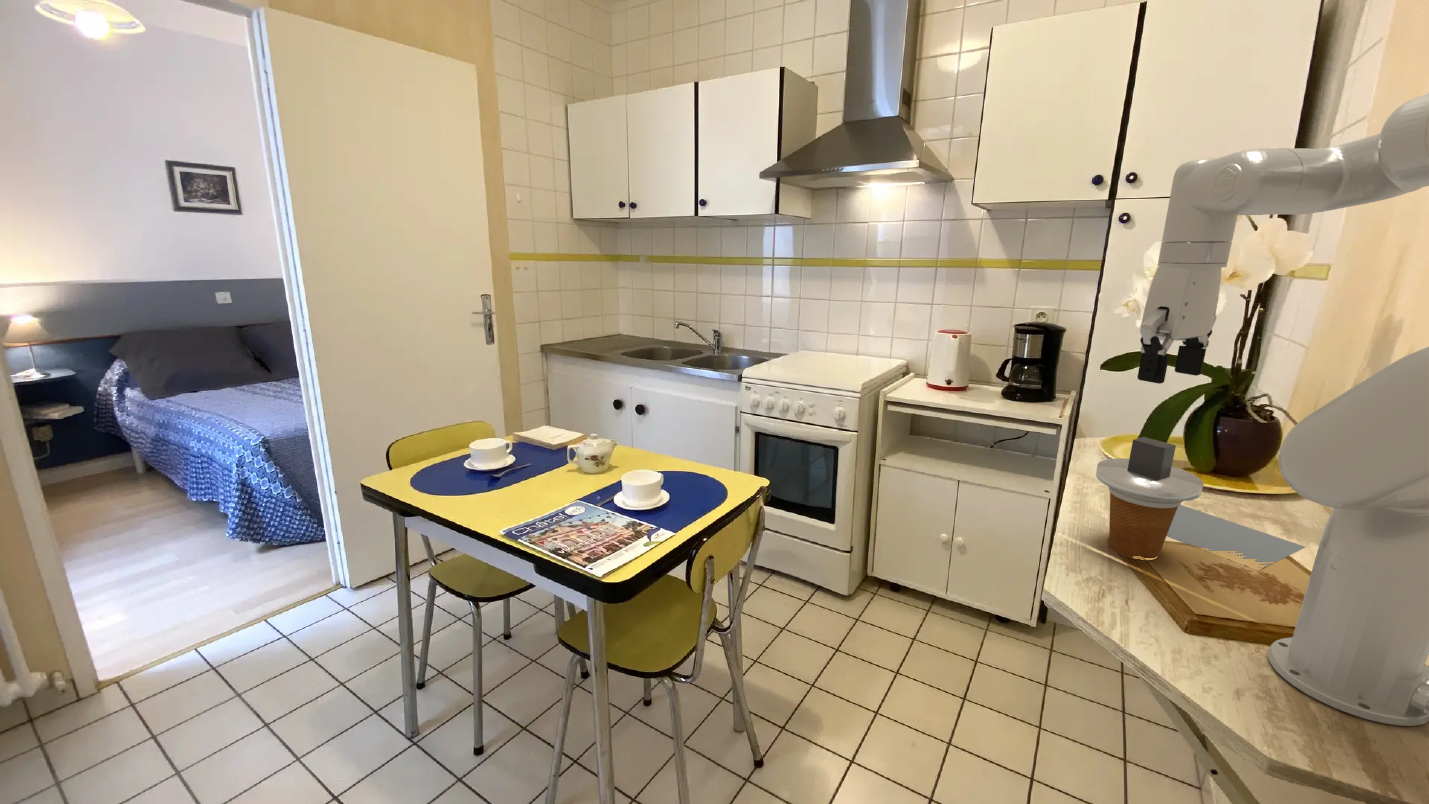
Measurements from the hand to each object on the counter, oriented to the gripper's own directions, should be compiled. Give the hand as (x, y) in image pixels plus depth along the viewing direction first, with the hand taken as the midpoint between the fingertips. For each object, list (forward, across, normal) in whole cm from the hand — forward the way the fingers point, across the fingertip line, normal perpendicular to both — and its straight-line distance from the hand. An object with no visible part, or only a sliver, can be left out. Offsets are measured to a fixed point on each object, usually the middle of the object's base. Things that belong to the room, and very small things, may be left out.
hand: (1169, 377), depth 85 cm
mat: (+28, -16, +2) cm, 33 cm away
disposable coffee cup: (+28, 0, 0) cm, 29 cm away
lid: (+16, 0, 0) cm, 16 cm away
